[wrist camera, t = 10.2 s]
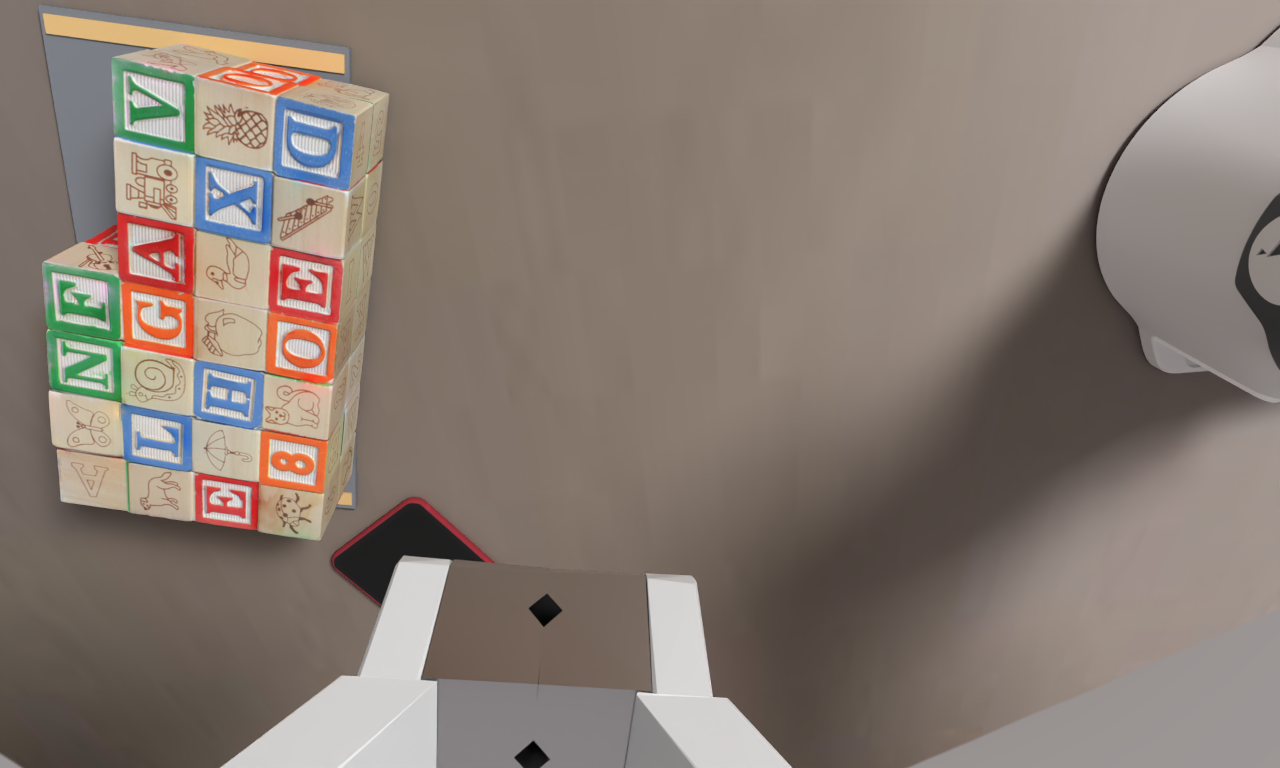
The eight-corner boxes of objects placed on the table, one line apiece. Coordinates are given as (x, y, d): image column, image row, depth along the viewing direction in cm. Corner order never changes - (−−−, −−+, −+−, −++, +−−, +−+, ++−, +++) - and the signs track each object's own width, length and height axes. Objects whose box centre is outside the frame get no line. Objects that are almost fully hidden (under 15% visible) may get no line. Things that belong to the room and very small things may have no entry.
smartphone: (414, 495, 48) (582, 645, 54) (417, 486, 49) (582, 635, 55) (324, 562, 50) (497, 700, 56) (328, 552, 51) (498, 690, 57)
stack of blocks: (395, 90, 38) (107, 20, 37) (360, 115, 33) (19, 33, 31) (351, 476, 48) (120, 435, 46) (318, 546, 42) (54, 503, 40)
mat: (350, 47, 38) (348, 48, 38) (357, 505, 49) (355, 509, 49) (41, 4, 37) (36, 5, 36) (120, 486, 48) (116, 490, 47)
